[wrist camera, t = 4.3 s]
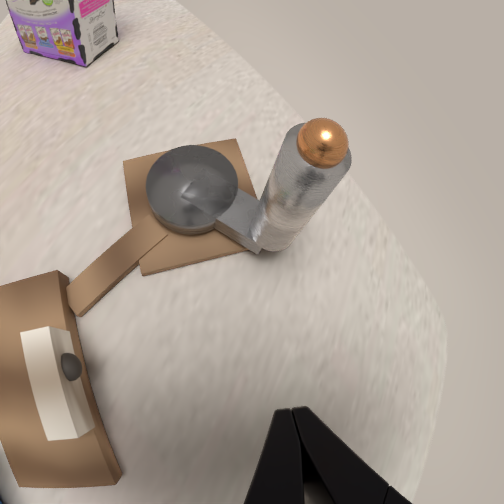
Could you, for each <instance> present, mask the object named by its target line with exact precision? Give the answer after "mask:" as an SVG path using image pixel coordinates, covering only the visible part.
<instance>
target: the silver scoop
mask: <svg viewBox="0 0 504 504" xmlns="http://www.w3.org/2000/svg"><path fill="white" fill-rule="evenodd" d="M350 166H351V153H350V150H349V148H348V138H347V135H346V133H345V132H344V129H343V128H342V127H341V126H340V125H339V124H338V123H336V122H334V121H333V120H330V119H327V118H316V119H313V120H310V121H308V122H307V123H301V124H298V125H296V126H294V127H292V128H291V129H290V130H289V131H288V132H287V134H286V136H285V139H284V141H283V144H282V146H281V149H280V151H279V154H278V156H277V159H276V161H275V164H274V166H273V169H272V171H271V174H270V176H269V179H268V181H267V184H266V186H265V189H264V191H263V194H262V196H261V199H260V201H259V200H258V199H256V198H254V197H253V196H251V195H249V194H248V193H246V192H244V191H242V190H241V189H239V188H238V177H237V173H236V171H235V169H234V167H233V165H232V164H231V162H230V161H229V160H228V159H227V158H226V157H225V156H224V155H223V154H221V153H219V152H218V151H216V150H214V149H211V148H208V147H205V146H199V145H187V146H181V147H178V148H175V149H172V150H170V151H168V152H166V153H165V154H163V155H162V156H161V157H159V158H158V159H157V160H156V161H155V163H154V164H153V165H152V167H151V168H150V170H149V173H148V175H147V179H146V193H147V198H148V201H149V205H150V208H151V210H152V213H153V214H154V216H155V218H156V219H157V220H158V221H159V222H160V223H161V224H162V225H163V226H165V227H166V228H168V229H170V230H172V231H174V232H177V233H181V234H188V235H194V234H201V233H205V232H208V231H211V230H213V229H216V230H218V231H220V232H221V233H223V234H224V235H226V236H228V237H229V238H231V239H233V240H234V241H236V242H238V243H239V244H241V245H243V246H244V247H246V248H247V249H249V250H251V251H252V252H254V253H256V254H257V255H258V254H259V252H260V250H261V249H262V248H263V249H265V250H267V251H273V252H276V251H281V250H284V249H286V248H287V247H288V246H289V245H290V244H291V243H292V242H293V240H294V239H295V238H296V237H297V235H298V234H299V233H300V232H301V230H302V229H303V228H304V227H305V225H306V224H307V223H308V222H309V220H310V219H311V218H312V216H313V215H314V214H315V213H316V211H317V210H318V209H319V208H320V206H321V205H322V204H323V202H324V201H325V200H326V199H327V197H328V196H329V195H330V193H331V192H332V191H333V190H334V188H335V187H336V186H337V184H338V183H339V182H340V181H341V179H342V178H343V177H344V175H345V174H346V173H347V172H348V170H349V168H350Z"/></svg>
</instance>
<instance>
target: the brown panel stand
mask: <svg viewBox="0 0 504 504" xmlns="http://www.w3.org/2000/svg"><path fill="white" fill-rule="evenodd" d="M199 146H205V147H208V148H211V149H214V150H216V151H218V152H219V153H221V154H223V155H224V156H225V157H226V158H227V159H228V160H229V161H230V162H231V164H232V165H233V167H234V169H235V171H236V173H237V177H238V188H239V189H241V190H242V191H244V192H246V193H248V194H249V195H251V196H253V197H254V198H256V199H257V197H256V194H255V191H254V188H253V185H252V182H251V180H250V177H249V174H248V171H247V168H246V165H245V163H244V160H243V157H242V154H241V151H240V149H239V146H238V143H237V140H236V139H229V140H223V141H217V142H211V143H205V144H200V145H199ZM169 151H170V150H169ZM166 152H168V151H165V152H160V153H155V154H151V155H146V156H142V157H138V158H134V159H130V160H126V161H123V166H124V174H125V182H126V189H127V196H128V203H129V209H130V216H131V222H132V229H131V230H130V231H128V232H127V233H126V234H125V235H124V236H122V237H121V238H120V239H119V240H118V241H117V242H115V243H114V244H113V245H112V246H111V247H110V248H109V249H107V250H106V251H105V252H104V253H103V254H102V255H101V256H100V257H98V258H97V259H96V260H95V261H94V262H93V263H92V264H91V265H90V266H88V267H87V268H86V269H85V270H84V271H83V272H82V273H81V274H80V275H79V276H78V277H76V278H75V279H74V280H73V281H72V282H71V283H70V284H69V278H68V277H67V276H66V275H64V274H63V273H61V272H60V271H58V270H55V271H52V272H48V273H44V274H41V275H37V276H34V277H30V278H26V279H23V280H19V281H16V282H12V283H9V284H5V285H2V286H0V440H1V443H2V446H3V449H4V451H5V454H6V457H7V459H8V462H9V464H10V467H11V469H12V472H13V474H14V476H15V479H16V481H17V483H18V485H19V487H31V488H77V487H95V486H108V485H116V483H117V482H118V480H119V479H120V477H121V476H122V472H121V470H120V467H119V465H118V463H117V460H116V458H115V455H114V453H113V450H112V448H111V445H110V442H109V440H108V437H107V434H106V431H105V429H104V426H103V423H102V420H101V417H100V414H99V411H98V408H97V404H96V401H95V398H94V395H93V391H92V388H91V384H90V381H89V377H88V373H87V369H86V366H85V362H84V357H83V353H82V349H81V345H80V340H79V335H78V331H77V326H76V320H75V315H74V313H75V314H76V315H77V316H79V317H82V316H83V315H84V314H85V313H86V312H87V311H88V310H89V309H90V308H91V307H92V306H93V305H95V304H96V303H97V302H98V301H99V300H100V299H101V298H102V297H103V296H104V295H105V294H106V293H108V292H109V291H110V290H111V289H112V288H113V287H114V286H115V285H116V284H117V283H118V282H120V281H121V280H122V279H123V278H124V277H125V276H126V275H127V274H128V273H130V272H131V271H132V270H133V269H134V268H135V267H136V266H138V265H140V270H141V274H142V276H146V275H150V274H154V273H158V272H162V271H166V270H170V269H174V268H178V267H182V266H186V265H190V264H194V263H198V262H202V261H206V260H210V259H214V258H218V257H222V256H226V255H231V254H235V253H239V252H243V251H247V250H249V249H247V248H246V247H244V246H243V245H241V244H239V243H238V242H236V241H234V240H233V239H231V238H229V237H228V236H226V235H224V234H223V233H221V232H220V231H218V230H216V229H213V230H211V231H208V232H205V233H201V234H194V235H188V234H181V233H177V232H174V231H172V230H170V229H168V228H166V227H165V226H163V225H162V224H161V223H160V222H159V221H158V220H157V219H156V218H155V216H154V214H153V213H152V210H151V208H150V205H149V201H148V198H147V193H146V179H147V175H148V173H149V170H150V168H151V167H152V165H153V164H154V163H155V161H156V160H157V159H158V158H159V157H161V156H162V155H163V154H165V153H166Z"/></svg>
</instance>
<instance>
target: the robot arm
mask: <svg viewBox="0 0 504 504" xmlns="http://www.w3.org/2000/svg"><path fill="white" fill-rule="evenodd" d="M388 486H389V484H388V483H387V482H386V481H385V480H384V479H383V478H382V477H380V476H379V475H378V474H377V473H376V472H375V471H374V470H373V469H372V468H371V467H369V466H368V465H367V464H366V463H365V462H364V461H363V460H362V459H361V458H360V457H359V456H358V455H357V454H356V453H354V452H353V451H352V450H351V449H350V448H349V447H348V446H347V445H346V444H345V443H344V442H343V441H342V440H341V439H340V438H339V437H338V436H337V435H336V434H335V433H334V432H333V431H332V430H331V429H330V428H329V427H328V426H326V425H325V424H324V423H323V422H322V421H321V420H320V419H319V418H318V417H317V416H316V415H315V414H314V413H313V412H312V411H311V410H310V408H308V407H307V406H301V407H294V408H292V409H290V408H285V409H277V410H275V412H274V415H273V418H272V421H271V424H270V428H269V431H268V434H267V437H266V440H265V443H264V446H263V449H262V452H261V455H260V458H259V461H258V464H257V467H256V470H255V473H254V476H253V479H252V482H251V485H250V488H249V490H248V493H247V496H246V499H245V501H244V504H412V503H411V502H410V501H408V500H407V499H406V498H405V497H403V496H402V495H401V494H400V493H399V492H398V491H396V490H395V489H394V488H393V487H392V486H389V487H388Z"/></svg>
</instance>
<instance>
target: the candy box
mask: <svg viewBox="0 0 504 504" xmlns="http://www.w3.org/2000/svg"><path fill="white" fill-rule="evenodd" d="M6 3H7V6H8V9H9V13H10V16H11V18H12V21H13V24H14V27H15V30H16V33H17V35H18V38H19V41H20V43H21V46H22V48H23V51H24V52H26V53H31V54H36V55H40V56H45V57H49V58H54V59H58V60H62V61H66V62H71V63H74V64H78V65H82V66H85V67H86V66H87V65H88V64H89V63H91V62H92V61H93V60H95V59H96V58H97V57H98V56H99V55H101V54H102V53H103V52H105V51H106V50H107V49H109V48H110V47H112V46H113V45H114V44H115V43H117V42H118V41H119V38H118V32H117V25H116V17H115V9H114V0H6Z"/></svg>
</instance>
